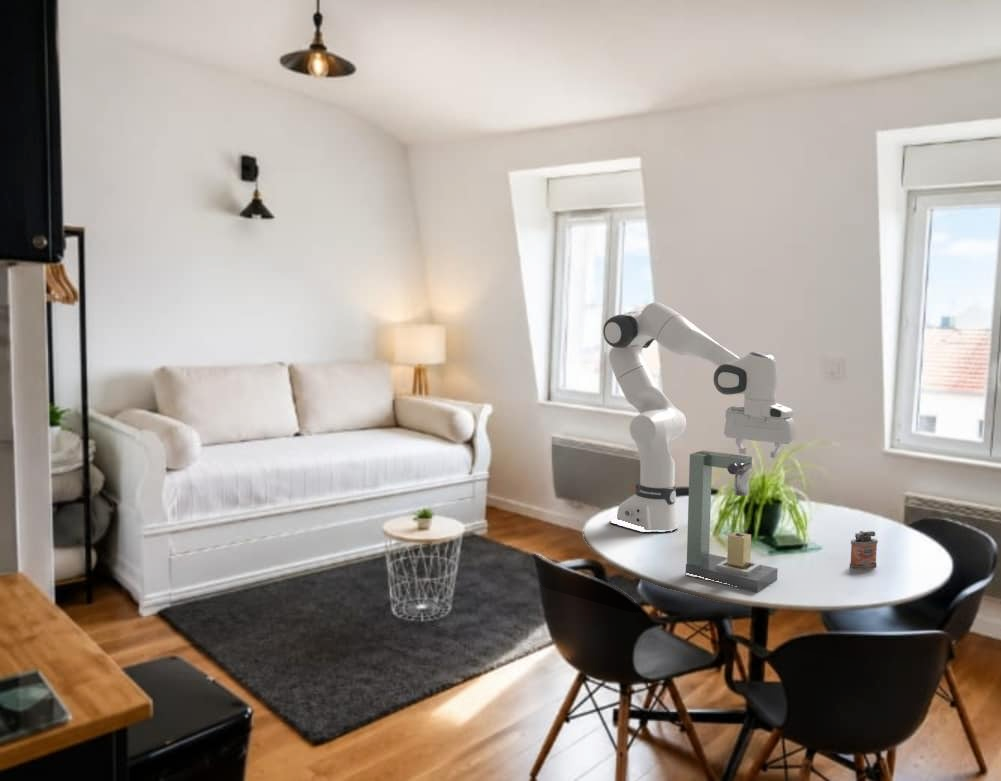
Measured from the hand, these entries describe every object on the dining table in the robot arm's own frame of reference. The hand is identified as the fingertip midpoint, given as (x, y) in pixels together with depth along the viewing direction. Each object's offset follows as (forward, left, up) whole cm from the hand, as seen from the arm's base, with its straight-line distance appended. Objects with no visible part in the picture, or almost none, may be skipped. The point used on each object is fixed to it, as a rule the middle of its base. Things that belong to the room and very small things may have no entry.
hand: (758, 456), depth 234 cm
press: (+4, -27, -29) cm, 40 cm away
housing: (+6, -25, -26) cm, 36 cm away
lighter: (+28, +8, -29) cm, 41 cm away
